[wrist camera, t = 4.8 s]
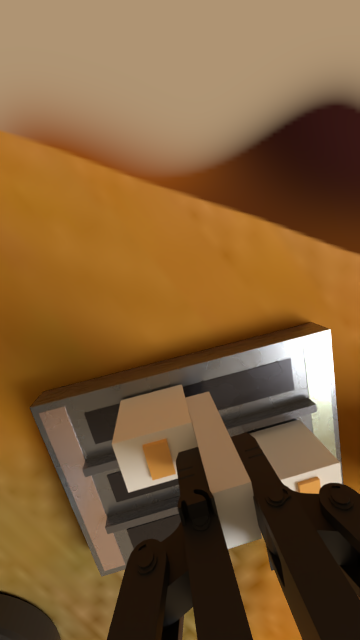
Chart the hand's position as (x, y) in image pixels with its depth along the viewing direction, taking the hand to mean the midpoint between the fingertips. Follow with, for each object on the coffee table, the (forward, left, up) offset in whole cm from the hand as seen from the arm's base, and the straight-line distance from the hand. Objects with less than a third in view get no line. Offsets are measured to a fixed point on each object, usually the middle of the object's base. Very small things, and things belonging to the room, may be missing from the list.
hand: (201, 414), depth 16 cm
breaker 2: (+5, -5, -1) cm, 7 cm away
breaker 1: (-3, 0, -1) cm, 3 cm away
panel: (0, -5, -4) cm, 6 cm away
